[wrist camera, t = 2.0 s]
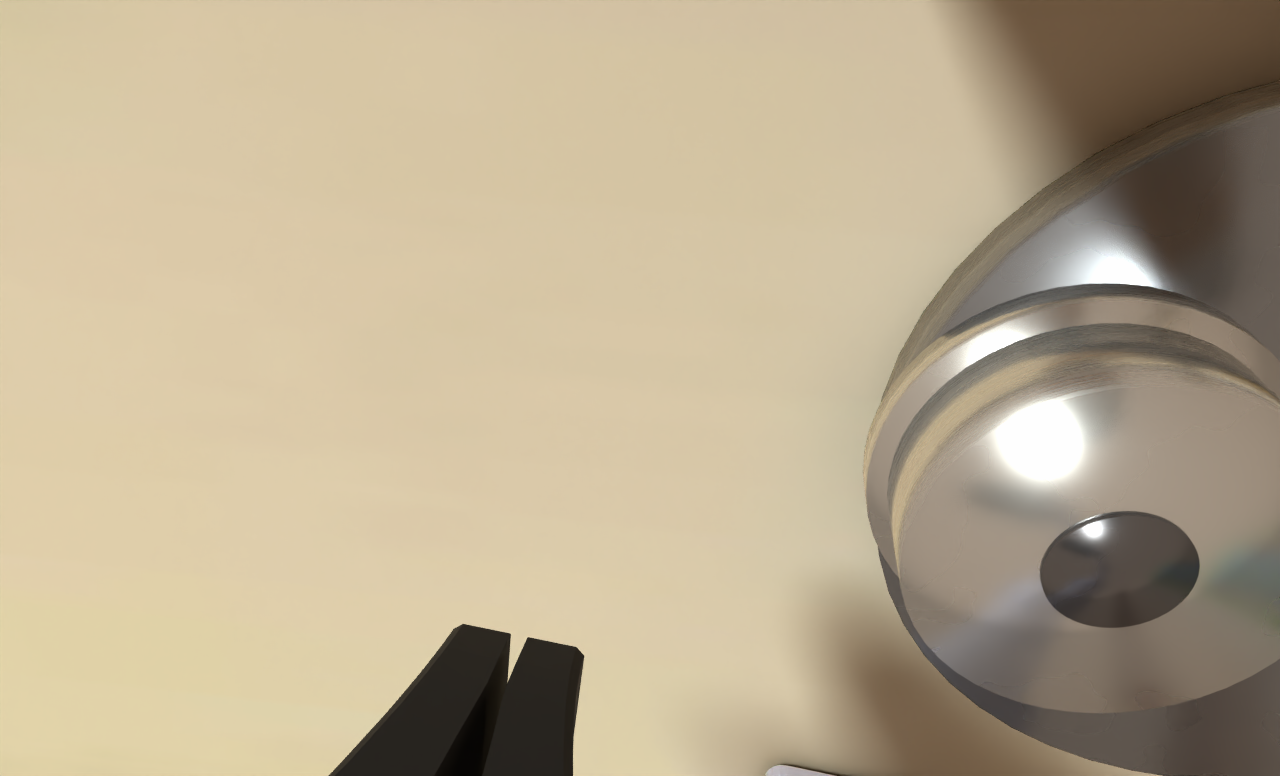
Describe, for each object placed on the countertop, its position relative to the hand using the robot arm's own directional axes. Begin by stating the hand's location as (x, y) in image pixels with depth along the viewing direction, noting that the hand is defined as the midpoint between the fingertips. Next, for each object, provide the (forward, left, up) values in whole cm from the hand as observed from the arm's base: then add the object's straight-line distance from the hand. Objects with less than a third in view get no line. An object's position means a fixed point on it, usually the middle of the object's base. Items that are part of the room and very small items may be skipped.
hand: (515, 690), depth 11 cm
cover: (0, -9, -8) cm, 12 cm away
